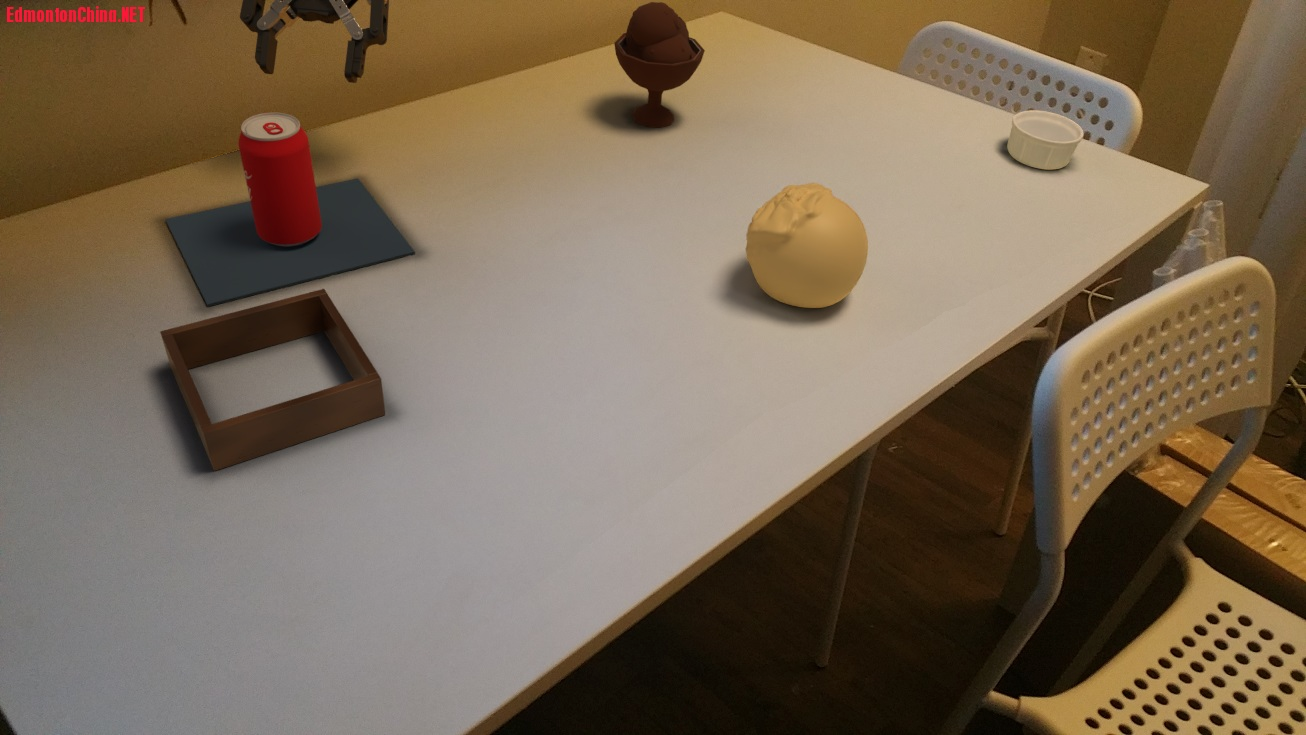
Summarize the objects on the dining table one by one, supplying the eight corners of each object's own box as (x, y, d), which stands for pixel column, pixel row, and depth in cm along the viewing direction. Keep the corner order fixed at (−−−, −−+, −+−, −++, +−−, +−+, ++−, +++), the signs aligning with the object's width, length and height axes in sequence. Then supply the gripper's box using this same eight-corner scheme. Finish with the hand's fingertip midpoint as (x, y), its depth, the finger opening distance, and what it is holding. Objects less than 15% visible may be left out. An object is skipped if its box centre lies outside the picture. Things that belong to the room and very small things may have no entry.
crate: (214, 471, 75) (203, 433, 72) (170, 368, 83) (159, 331, 81) (385, 414, 81) (381, 378, 79) (329, 323, 90) (324, 288, 87)
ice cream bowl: (697, 140, 123) (712, 22, 114) (608, 133, 123) (616, 13, 113) (694, 102, 131) (708, -11, 122) (611, 96, 131) (618, -19, 121)
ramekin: (1062, 180, 124) (1075, 149, 121) (994, 157, 127) (1004, 126, 124) (1078, 154, 130) (1091, 124, 127) (1013, 133, 133) (1023, 103, 130)
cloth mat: (207, 306, 90) (207, 304, 90) (165, 221, 100) (165, 218, 99) (415, 254, 99) (415, 251, 99) (358, 180, 109) (358, 178, 109)
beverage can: (306, 211, 103) (289, 104, 95) (333, 239, 99) (317, 130, 92) (247, 228, 99) (224, 119, 92) (273, 258, 96) (251, 146, 88)
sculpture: (765, 243, 106) (782, 153, 99) (870, 280, 103) (896, 190, 96) (720, 294, 98) (735, 200, 91) (832, 337, 95) (857, 243, 88)
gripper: (244, -104, 98) (223, 54, 96) (387, -89, 98) (369, 68, 97) (270, -65, 105) (251, 82, 104) (404, -51, 106) (387, 96, 104)
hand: (308, 75), depth 100 cm, fingers open, 8 cm apart
